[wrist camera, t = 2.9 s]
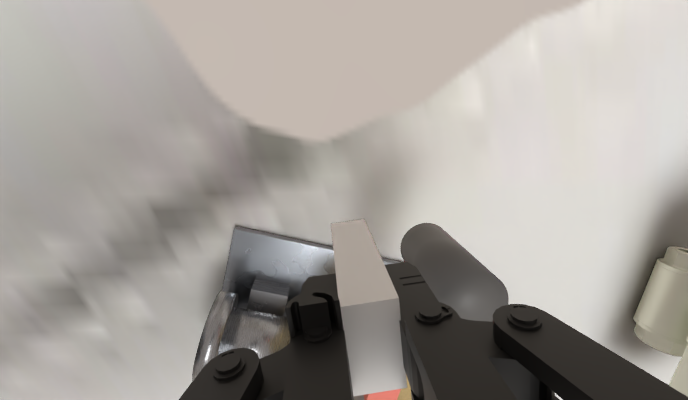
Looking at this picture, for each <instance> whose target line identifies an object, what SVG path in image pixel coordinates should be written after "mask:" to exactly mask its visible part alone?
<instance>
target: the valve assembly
mask: <svg viewBox="0 0 688 400" xmlns="http://www.w3.org/2000/svg"><path fill="white" fill-rule="evenodd" d="M382 260H383V263H384V265H387V264H394V263H400V261H395V260H391V259H386V258H382ZM333 273H336V271H335V261H334V251H333V247H331V246H326V245H322V244H317V243H313V242H308V241H303V240H299V239H294V238H290V237H285V236H280V235H276V234H271V233H267V232H262V231H257V230H253V229H248V228H244V227H239V226H236V227H235V229H234V233H233V238H232V243H231V248H230V253H229V258H228V263H227V268H226V273H225V278H224V283H223V288H222V291H220V292H219V294H218V295H217V297H216V299H215V301H214V303H213V305H212V308H211V310H210V313H209V315H208V318H207V320H206V323H205V326H204V329H203V332H202V336H201V339H200V342H199V346H198V349H197V353H196V358H195V362H194V367H193V374H192V381H193V380H194V379H195V378H196V376H197V375H198V374H199V372H200V371H201V370H202V369H203V367H204V366H205V365H206V364H207V363H208V362H209V361H210V360H211V359H213V358H214V357H216V356H218V355H219V354H221V353H223V352H226V351H228V350H231V349H236V348H248V349H252V350H254V351H255V352H256V353H258V356H259V359H260V358H263V357H265V356H268V355H270V354H273V353H275V352H277V351H279V350H281V349H283V348H284V347H285V346H287V345H288V344H289V343H290V338H291V337H290V332H289V327H288V322H287V317H286V311H285V307H286V305H287V303H288V302H289V301H290V300H291V299H292V298H294V297H295V296H297V295H299V294H301V290H302V285H303V283H304V282H305V281H306V280H307V278H308V277H313V276H320V275H327V274H333ZM406 379H407V388H402V389H401V390H400V393H399V396H398V399H397V400H412V398H411V387H410V384H409V381H408V378H407V375H406Z"/></svg>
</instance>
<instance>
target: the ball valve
mask: <svg viewBox="0 0 688 400" xmlns="http://www.w3.org/2000/svg"><path fill="white" fill-rule="evenodd" d="M633 319H634V321H635V322H636V326H635V328H634V332H635V334H636V336H637V337H638V338H639V339H640V340H641V341H642V342H644V343H645V344H647V345H649V346H650V347H652V348H654V349H656V350H659V351H661V352H664V353H666V354H670V355H673V356H682V358H681V360H680V362H679V364H678V366H677V368H676V371H675V373H674V375H673V377H672V379H671V381H670V384H669V386H671V387H672V388H674V389H676V390H677V391H679V392H681V393H682V394H684V395H686V396H687V397H688V249H687V248H682V247H675V246H673V247H668V248H667V251H666V253H665V256H664V258H658V259H657V261H656V264H655V266H654V269H653V271H652V274H651V276H650V278H649V281H648V283H647V286H646V288H645V291H644V293H643V296H642V298H641V300H640V303H639V305H638V308H637V310H636V313H635V315H634V318H633Z"/></svg>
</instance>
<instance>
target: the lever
mask: <svg viewBox="0 0 688 400" xmlns="http://www.w3.org/2000/svg"><path fill="white" fill-rule="evenodd" d="M401 254H402V257H403V259H404V262H408V263H410V264H412V265H414V266H415V267H417V269H418V270H419V272H420V273H421V276H422V277H423V278H424V280H425V282H426V283H427V284H428V286H429V287H430V289H431V290H432V292H433V294H434V295H435V297H436V298H437V300H438V301H439V302H441V303H444V304H446V305H448V306H450V307H452V308H453V309H454V310H455V311H456V312H457V314H458V315H459V316H460V318H462V319H466V320H474V321H489V322H493V314H494V312H495V310H496V309H498V308H500V307H501V306H505V305H508V293H507V290H506V287H505V286H504V284H503V283H502V282H501V281H500V280H499V279H498V278H497V277H496V276H495V275H494V274H493V273H491V272H490V271H489V270H488V269H487V268H486V267H485V266H484V265H482V264H481V263H480V262H479V261H478V260H477V259H476V258H475V257H473V256H472V255H471V254H470V253H469V252H468V251H467V250H466V249H464V248H463V247H462V246H461V245H460V244H459V243H458V242H457V241H455V240H454V239H453V238H452V237H451V236H450V235H449V234H448V233H447V232H445V231H444V230H443V229H442V228H441V227H439V226H438V225H435V224H431V223H422V224H419V225H416V226H414V227H412V228H411V229H410V230H409V231H408V232H407V233H406V234H405V235H404V237H403V239H402V242H401ZM400 390H401V389H396V390H390V391H384V392H378V393H372V394H365V395H359V396H353V398H354V400H397V399H398V396H399V393H400Z"/></svg>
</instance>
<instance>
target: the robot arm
mask: <svg viewBox="0 0 688 400" xmlns="http://www.w3.org/2000/svg"><path fill="white" fill-rule="evenodd" d="M331 232H332V242H333V251H334V261H335V271H336V273H333V274H327V275H320V276H313V277H308V278H307V280H306V281H305V282H304V283H303V285H302V290H301V294H299V295H297V296H295V297H294V298H292V299H291V300H290V301H289V302H288V303H287V305H286V307H285V311H286V317H287V322H288V327H289V332H290V337H291V338H290V343H289V344H288V345H287V346H285V347H284V348H283V349H281V350H279V351H277V352H275V353H273V354H270V355H268V356H265V357H263V358H260V359H259V356H258V353H256V352H255V351H254V350H252V349H248V348H236V349H231V350H228V351H226V352H223V353H221V354H219V355H218V356H216V357H214V358H213V359H211V360H210V361H209V362H208V363H207V364H206V365H205V366H204V367H203V369H202V370H201V371H200V372H199V374H198V375H197V376H196V378H195V379H194V380H193V382H192V383H191V384H190V386H189V387H188V388H187V390H186V391H185V392H184V394H183V395H182V396H181V398H180V399H179V400H354V398H353V396H359V395H365V394H372V393H378V392H384V391H390V390H396V389H402V388H407V379H406V375H407V378H408V381H409V384H410V387H411V398H412V400H559V399H558V398H557V397H556V396H555V393H556V394H557V395H558V396H560V397H561V398H562V399H563V400H688V397H687V396H686V395H684V394H682V393H681V392H679V391H677V390H676V389H674V388H672V387H671V386H669V385H667V384H666V383H664V382H662V381H660V380H659V379H657V378H655V377H654V376H652V375H650V374H649V373H647V372H645V371H644V370H642V369H640V368H639V367H637V366H635V365H634V364H632V363H630V362H629V361H627V360H625V359H624V358H622V357H620V356H619V355H617V354H615V353H614V352H612V351H610V350H609V349H607V348H605V347H604V346H602V345H600V344H599V343H597V342H595V341H594V340H592V339H590V338H588V337H587V336H585V335H583V334H582V333H580V332H578V331H577V330H575V329H573V328H572V327H570V326H568V325H567V324H565V323H563V322H562V321H560V320H558V319H557V318H555V317H553V316H552V315H550V314H548V313H547V312H545V311H542V310H540V309H538V308H536V307H532V306H527V305H523V304H510V305H505V306H501V307H500V308H498V309H496V310H495V312H494V314H493V322H489V321H474V320H466V319H462V318H460V316H459V315H458V314H457V312H456V311H455V310H454V309H453V308H452V307H450V306H448V305H446V304H444V303H441V302H439V301H438V300H437V298H436V297H435V295H434V294H433V292H432V290H431V289H430V287H429V286H428V284H427V283H426V282H425V280H424V278H423V277H422V276H421V273H420V272H419V270H418V269H417V267H415V266H414V265H412V264H410V263H408V262H400V263H394V264H387V265H384V263H383V260H382V258H381V256H380V254H379V251H378V249H377V247H376V244H375V242H374V240H373V238H372V235H371V233H370V231H369V228H368V226H367V224H366V222H365V219H359V220H352V221H345V222H338V223H331Z"/></svg>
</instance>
